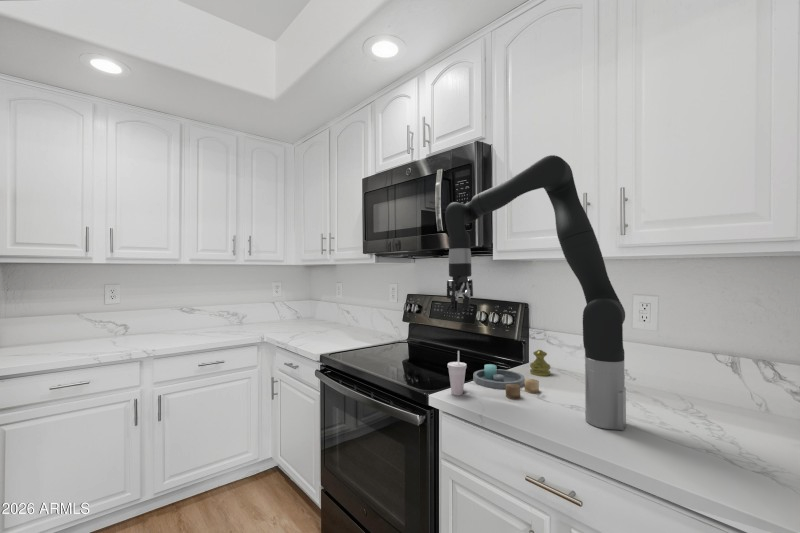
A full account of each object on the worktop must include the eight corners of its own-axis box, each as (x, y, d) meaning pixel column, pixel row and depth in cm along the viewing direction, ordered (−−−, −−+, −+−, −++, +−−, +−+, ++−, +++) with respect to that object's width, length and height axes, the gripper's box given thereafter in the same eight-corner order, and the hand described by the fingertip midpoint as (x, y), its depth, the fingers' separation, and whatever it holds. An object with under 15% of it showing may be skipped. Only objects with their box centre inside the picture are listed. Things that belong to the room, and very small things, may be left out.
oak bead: (540, 393, 124) (540, 380, 124) (536, 397, 120) (536, 383, 120) (527, 391, 126) (527, 378, 126) (522, 394, 123) (522, 381, 123)
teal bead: (498, 377, 139) (498, 365, 139) (493, 380, 135) (493, 367, 135) (487, 375, 142) (487, 363, 142) (482, 378, 138) (482, 366, 138)
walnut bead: (522, 399, 118) (522, 385, 118) (517, 403, 115) (517, 389, 115) (508, 396, 121) (508, 383, 121) (503, 400, 117) (503, 386, 117)
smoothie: (461, 398, 119) (461, 354, 120) (443, 394, 123) (443, 351, 123) (470, 392, 125) (470, 350, 125) (453, 389, 128) (453, 348, 129)
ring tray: (531, 382, 136) (531, 374, 136) (514, 395, 122) (513, 386, 122) (485, 374, 147) (485, 366, 147) (464, 385, 132) (464, 376, 132)
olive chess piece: (526, 373, 147) (526, 348, 148) (545, 373, 148) (545, 348, 148) (534, 379, 140) (534, 352, 140) (554, 378, 141) (553, 352, 141)
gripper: (460, 261, 118) (460, 313, 118) (479, 262, 130) (480, 309, 129) (439, 262, 123) (440, 312, 122) (459, 263, 134) (460, 308, 134)
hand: (460, 310), depth 126 cm, fingers open, 8 cm apart
